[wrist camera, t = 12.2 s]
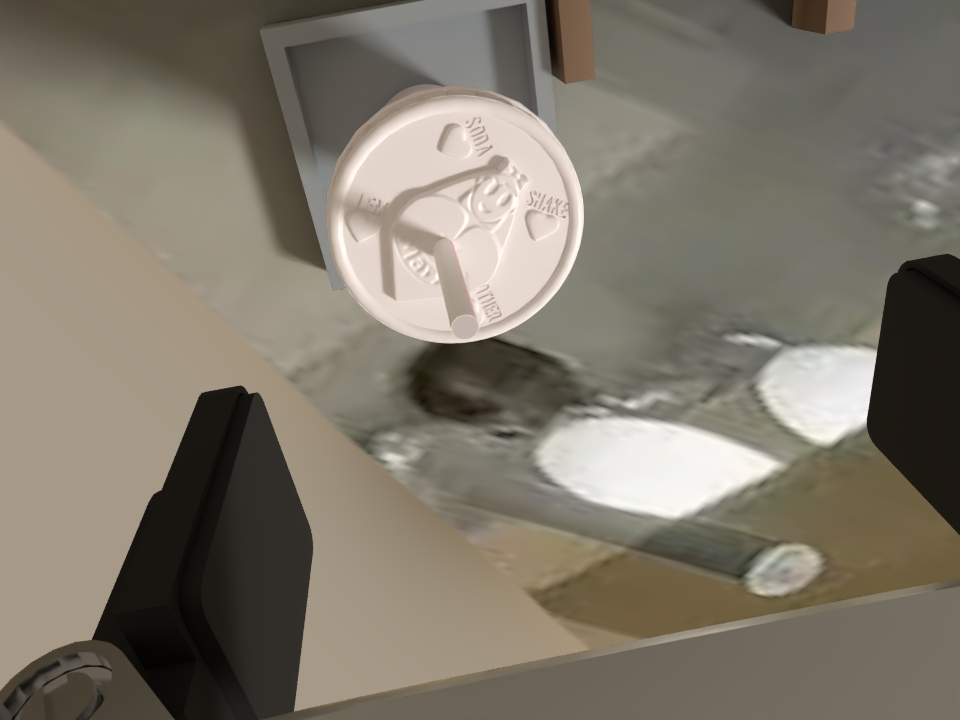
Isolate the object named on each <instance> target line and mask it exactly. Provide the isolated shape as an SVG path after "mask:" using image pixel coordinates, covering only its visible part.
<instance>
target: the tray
mask: <svg viewBox="0 0 960 720" xmlns="http://www.w3.org/2000/svg"><path fill="white" fill-rule="evenodd" d="M259 32H260V35H261V39H262V42H263V46H264V50H265V53H266V57H267V60H268V64H269V67H270V71H271V74H272V78H273V81H274V85H275V88H276V92H277V96H278V99H279V103H280V106H281V110H282V113H283V117H284V120H285V124H286V127H287V131H288V134H289V138H290V141H291V145H292V149H293V152H294V156H295V159H296V163H297V166H298V170H299V173H300V177H301V180H302V184H303V187H304V191H305V195H306V198H307V202H308V205H309V209H310V212H311V216H312V219H313V223H314V226H315V230H316V233H317V237H318V241H319V244H320V248H321V251H322V255H323V258H324V262H325V265H326V269H327V272H328V276H329V279H330V283H331V287H332V290H333V291H334V290H339V289H344V288H346V286H345V285H344V283H343V281H342V279H341V277H340V275H339V273H338V271H337V269H336V266H335V264H334V261H333V258H332V254H331V251H330V245H329V239H328V229H327V192H328V189H329V186H330V182H331V179H332V176H333V172H334V169H335V166H336V163H337V160H338V158H339V157H340V155H341V154H342V152H343V151H344V149H345V147H346V146H347V144H348V143H349V141H350V140H351V138H352V137H353V135H354V134H355V132H356V131H357V130H358V129H359V128H360V127H361V126H362V125H363V124H365V123H366V122H367V121H368V120H369V119H370V118H371V117H372V116H374V115H375V114H376V113H377V112H378V111H379V110H380V109H382V108H383V107H384V106H385V105H386V104H387V102H388V101H389V100H390V99H391V98H392V97H393V96H395V95H396V94H397V93H399V92H400V91H402V90H404V89H406V88H408V87H411V86H414V85H419V84H434V85H439V86H442V87H444V86H450V85H454V86H463V87H473V88H483V89H488V90H491V91H493V92H496V93H498V94H501V95H503V96H506V97H508V98H510V99H513V100H515V101H518V102H520V103H521V104H522V105H524V106H525V107H526V108H527V109H529V110H530V111H531V112H533V113H534V114H535V115H536V116H538V117H539V118H540V119H541V120H543V121H544V122H545V123H546V124H547V125H548V127H549V128H550V129H551V131H552V132H553V134H554V135H555V136H556V138H557V139H558V134H557V124H556V113H555V103H554V92H553V82H552V71H551V61H550V50H549V40H548V29H547V19H546V8H545V0H399V1H394V2H388V3H383V4H377V5H372V6H366V7H361V8H355V9H350V10H344V11H339V12H333V13H328V14H322V15H317V16H312V17H306V18H301V19H295V20H290V21H284V22H279V23H273V24H268V25H264V26H263V27H262V28H261V29H260V30H259Z"/></svg>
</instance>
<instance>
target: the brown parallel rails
mask: <svg viewBox="0 0 960 720" xmlns="http://www.w3.org/2000/svg"><path fill="white" fill-rule="evenodd" d="M545 8H546V19H547V29H548V40H549V50H550V61H551V71H552V75H553V76H555V77H556V78H558V79H559V80H561V81H562V82H564V83H565V84H568V83H573V82H578V81H583V80H589V79H594V78H595V71H594V56H593V41H592V26H591V11H590V0H545ZM855 9H856V0H793V16H792V28H797V29H802V30H806V31H811V32H816V33H821V34H830V33H835V32H840V31H846V30H851V29H854V19H855Z"/></svg>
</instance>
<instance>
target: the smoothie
mask: <svg viewBox="0 0 960 720" xmlns="http://www.w3.org/2000/svg"><path fill="white" fill-rule="evenodd" d="M583 223H584V208H583V198H582V192H581V187H580V184H579V180H578V177H577V174H576V172H575V169H574V167H573V165H572V163H571V161H570V159H569V157H568V155H567V153H566V151H565V149H564V147H563V146H562V145H561V143H560V142H559V141H558V139H557V138H556V136H555V135H554V134H553V132H552V131H551V129H550V128H549V127H548V125H547V124H546V123H545V122H544V121H543V120H541V119H540V118H539V117H538V116H536V115H535V114H534V113H533V112H531V111H530V110H529V109H527V108H526V107H525V106H524V105H522V104H521V103H520V102H518V101H515V100H513V99H510V98H508V97H506V96H503V95H501V94H498V93H496V92H493V91H491V90H488V89H483V88H473V87H463V86H454V85H450V86H444V87H442V86H439V85H434V84H419V85H414V86H411V87H408V88H406V89H404V90H402V91H400V92H399V93H397V94H396V95H395V96H393V97H392V98H391V99H390V100H389V101H388V102H387V104H386V105H385V106H384V107H383V108H382V109H380V110H379V111H378V112H377V113H376V114H375V115H374V116H372V117H371V118H370V119H369V120H368V121H367V122H366V123H365V124H363V125H362V126H361V127H360V128H359V129H358V130H357V131H356V132H355V134H354V135H353V137H352V138H351V140H350V141H349V143H348V144H347V146H346V147H345V149H344V151H343V152H342V154H341V155H340V157H339V158H338V160H337V163H336V166H335V169H334V172H333V176H332V179H331V182H330V186H329V189H328V192H327V229H328V239H329V245H330V251H331V254H332V258H333V261H334V264H335V266H336V269H337V271H338V273H339V275H340V277H341V279H342V281H343V283H344V285H345V286H346V288H347V289H348V291H349V292H350V294H351V295H352V296H353V297H354V299H355V300H356V301H357V302H358V303H359V304H360V305H361V306H362V307H363V308H364V309H365V310H366V311H367V312H368V313H369V314H371V315H372V316H373V317H374V318H375V319H377V320H378V321H380V322H381V323H383V324H384V325H386V326H388V327H390V328H392V329H393V330H395V331H398V332H400V333H402V334H405V335H407V336H410V337H413V338H417V339H421V340H425V341H431V342H438V343H464V342H472V341H477V340H482V339H486V338H489V337H493V336H496V335H498V334H501V333H503V332H506V331H508V330H510V329H512V328H514V327H516V326H518V325H519V324H521V323H523V322H524V321H526V320H527V319H529V318H530V317H531V316H533V315H534V314H535V313H537V312H538V311H539V310H540V309H541V308H542V307H543V306H545V305H546V304H547V302H548V301H549V300H550V299H551V298H552V297H553V296H554V295H555V293H556V292H557V291H558V290H559V288H560V287H561V285H562V284H563V282H564V281H565V279H566V278H567V276H568V274H569V272H570V270H571V268H572V266H573V264H574V261H575V259H576V257H577V253H578V250H579V247H580V243H581V238H582V232H583Z"/></svg>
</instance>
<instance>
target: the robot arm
mask: <svg viewBox="0 0 960 720" xmlns="http://www.w3.org/2000/svg"><path fill="white" fill-rule="evenodd" d="M867 429H868V433H869V436H870V438H871V440H872V442H873V443H874V444H875V446H876V447H877V448H878V449H879V450H880V451H881V452H882V453H883V454H884V455H885V456H886V457H887V458H888V460H889V461H890V462H891V463H892V464H893V465H894V466H895V467H896V468H897V469H898V470H899V471H900V472H901V473H902V474H903V475H904V477H905V478H906V479H907V480H908V481H909V482H910V483H911V484H912V485H913V486H914V487H915V488H916V489H917V490H918V491H919V492H920V493H921V495H922V496H923V497H924V498H925V499H926V500H927V501H928V502H929V503H930V504H931V505H932V506H933V507H934V508H935V509H936V510H937V512H938V513H939V514H940V515H941V516H942V517H943V518H944V519H945V520H946V521H947V522H948V523H949V524H950V525H951V526H952V527H953V529H954V530H955V531H956V532H957V533H958V534H959V535H960V259H958V258H957V257H955V256H953V255H950V254H943V255H937V256H932V257H927V258H921V259H916V260H911V261H906V262H905V263H903V264H902V265H901V267H900V268H899V270H898V273H895V274H893V275H892V276H891V277H890V279H889V282H888V285H887V292H886V298H885V305H884V311H883V318H882V324H881V331H880V338H879V344H878V351H877V357H876V364H875V370H874V377H873V383H872V390H871V396H870V403H869V410H868V416H867ZM312 555H313V540H312V533H311V529H310V526H309V523H308V520H307V518H306V515H305V512H304V510H303V507H302V504H301V501H300V499H299V496H298V493H297V491H296V488H295V485H294V482H293V480H292V477H291V474H290V472H289V469H288V466H287V463H286V461H285V458H284V455H283V453H282V450H281V447H280V445H279V442H278V439H277V437H276V434H275V431H274V428H273V426H272V423H271V420H270V418H269V415H268V412H267V409H266V407H265V404H264V401H263V399H262V397H261V396H260V394H259V393H252V394H248V392H247V391H246V389H245V388H244V387H243V386H235V387H230V388H224V389H219V390H214V391H209V392H204V393H201V395H200V396H199V398H198V401H197V403H196V406H195V408H194V411H193V413H192V416H191V418H190V421H189V423H188V426H187V428H186V431H185V433H184V436H183V438H182V441H181V443H180V446H179V448H178V451H177V453H176V456H175V458H174V461H173V463H172V466H171V468H170V471H169V473H168V476H167V478H166V481H165V483H164V486H163V488H162V490H161V491H159V492H157V493H155V494H154V495H153V496H152V498H151V500H150V501H149V503H148V505H147V508H146V510H145V513H144V515H143V518H142V520H141V522H140V525H139V527H138V529H137V532H136V534H135V537H134V539H133V542H132V544H131V546H130V549H129V551H128V554H127V556H126V559H125V561H124V563H123V566H122V568H121V571H120V573H119V575H118V578H117V580H116V583H115V585H114V588H113V590H112V592H111V595H110V597H109V599H108V602H107V604H106V607H105V609H104V611H103V614H102V617H101V619H100V621H99V624H98V626H97V628H96V631H95V633H94V636H93V638H92V640H89V641H81V642H74V643H71V644H68V645H66V646H63V647H60V648H58V649H55V650H52V651H51V652H49V653H47V654H46V655H44V656H42V657H40V658H38V659H37V660H35V661H33V662H32V663H30V664H29V665H28V666H26V667H25V668H24V669H23V670H21V671H20V672H19V673H18V674H16V675H15V676H14V677H13V678H12V679H11V680H10V681H9V682H8V683H7V684H6V685H5V686H4V687H3V689H2V690H1V691H0V720H960V578H959V579H954V580H948V581H943V582H938V583H932V584H927V585H922V586H916V587H911V588H906V589H900V590H895V591H890V592H884V593H879V594H874V595H869V596H864V597H858V598H853V599H848V600H843V601H838V602H833V603H827V604H822V605H817V606H812V607H807V608H801V609H796V610H791V611H786V612H781V613H775V614H770V615H765V616H760V617H755V618H750V619H745V620H739V621H734V622H729V623H724V624H719V625H714V626H709V627H704V628H698V629H693V630H688V631H683V632H678V633H673V634H668V635H662V636H657V637H652V638H647V639H642V640H637V641H632V642H627V643H622V644H617V645H612V646H607V647H602V648H597V649H592V650H587V651H582V652H577V653H572V654H567V655H562V656H557V657H552V658H547V659H542V660H537V661H532V662H527V663H522V664H517V665H512V666H507V667H502V668H497V669H492V670H487V671H482V672H477V673H472V674H467V675H462V676H457V677H451V678H446V679H441V680H437V681H432V682H427V683H423V684H418V685H413V686H408V687H404V688H400V689H395V690H390V691H385V692H380V693H376V694H372V695H366V696H362V697H357V698H353V699H348V700H343V701H339V702H334V703H330V704H325V705H321V706H316V707H312V708H307V709H303V710H300V711H295V712H294V706H295V698H296V690H297V681H298V673H299V664H300V656H301V648H302V639H303V630H304V622H305V613H306V606H307V605H306V604H307V597H308V588H309V580H310V571H311V563H312Z"/></svg>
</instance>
